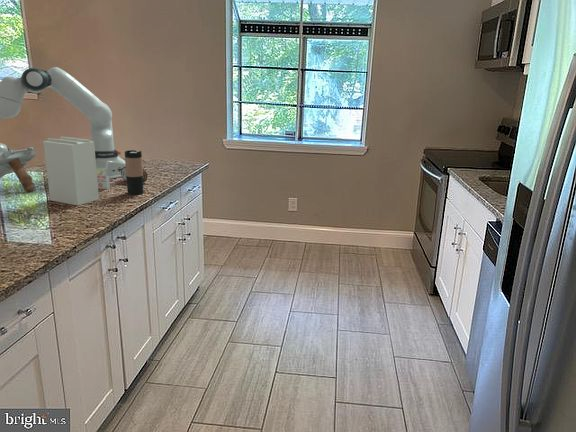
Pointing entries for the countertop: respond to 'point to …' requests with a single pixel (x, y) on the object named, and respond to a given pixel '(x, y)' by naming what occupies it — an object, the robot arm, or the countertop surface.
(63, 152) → the gray stand
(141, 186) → the travel mug
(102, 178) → the small grey carton
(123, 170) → the tin
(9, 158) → the robot arm
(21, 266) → the countertop surface
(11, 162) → the wooden turned rod
